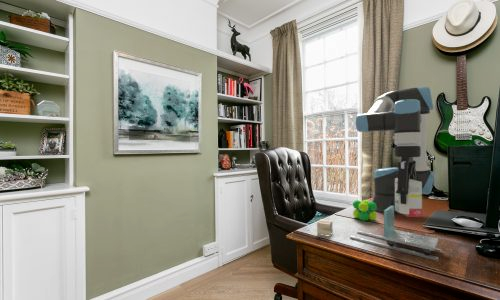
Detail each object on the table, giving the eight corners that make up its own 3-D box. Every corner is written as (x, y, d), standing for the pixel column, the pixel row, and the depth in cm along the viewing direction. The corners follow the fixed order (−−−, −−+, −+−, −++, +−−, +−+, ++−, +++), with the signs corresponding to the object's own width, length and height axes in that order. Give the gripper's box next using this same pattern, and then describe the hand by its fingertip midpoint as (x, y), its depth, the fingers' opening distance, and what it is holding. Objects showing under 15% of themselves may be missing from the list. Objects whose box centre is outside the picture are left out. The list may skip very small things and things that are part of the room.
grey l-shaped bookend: (391, 237, 90) (391, 205, 90) (438, 247, 80) (438, 212, 80) (383, 245, 83) (383, 210, 83) (434, 258, 73) (433, 218, 73)
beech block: (320, 230, 101) (320, 219, 101) (332, 232, 98) (332, 221, 98) (317, 234, 96) (317, 222, 96) (329, 236, 94) (329, 224, 94)
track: (358, 232, 98) (358, 230, 98) (441, 251, 79) (441, 249, 79) (349, 238, 92) (349, 236, 92) (437, 261, 73) (437, 258, 73)
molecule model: (366, 215, 121) (351, 217, 119) (366, 198, 121) (351, 199, 119) (378, 221, 112) (362, 222, 111) (378, 202, 112) (362, 203, 111)
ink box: (423, 217, 77) (422, 181, 77) (406, 217, 77) (406, 181, 77) (408, 210, 85) (408, 177, 85) (394, 210, 86) (393, 177, 86)
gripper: (402, 145, 92) (402, 203, 92) (385, 145, 76) (386, 215, 76) (426, 145, 86) (426, 206, 86) (413, 145, 71) (414, 219, 71)
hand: (407, 210), depth 81 cm, fingers closed on ink box, 9 cm apart
